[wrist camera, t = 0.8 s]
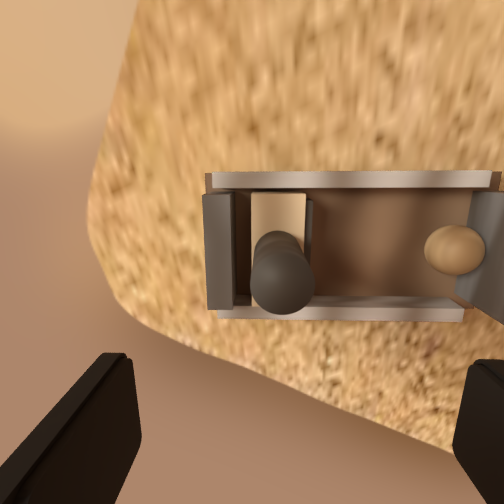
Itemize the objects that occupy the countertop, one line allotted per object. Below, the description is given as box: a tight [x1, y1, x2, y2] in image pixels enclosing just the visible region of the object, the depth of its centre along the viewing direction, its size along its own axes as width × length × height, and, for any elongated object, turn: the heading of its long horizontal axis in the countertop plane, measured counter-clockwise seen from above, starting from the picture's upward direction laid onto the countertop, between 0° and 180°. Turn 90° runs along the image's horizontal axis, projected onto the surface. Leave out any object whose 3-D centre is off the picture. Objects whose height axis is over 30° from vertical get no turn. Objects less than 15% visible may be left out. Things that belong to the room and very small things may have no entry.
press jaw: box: [250, 191, 315, 315], centre depth 21 cm, size 5×9×10 cm, turn 0°
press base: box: [202, 170, 504, 325], centre depth 24 cm, size 24×12×8 cm, turn 90°
